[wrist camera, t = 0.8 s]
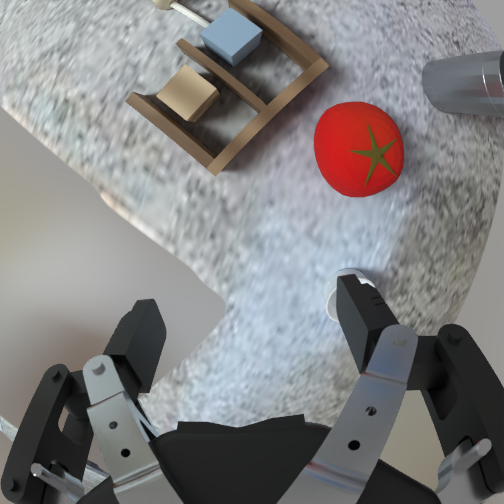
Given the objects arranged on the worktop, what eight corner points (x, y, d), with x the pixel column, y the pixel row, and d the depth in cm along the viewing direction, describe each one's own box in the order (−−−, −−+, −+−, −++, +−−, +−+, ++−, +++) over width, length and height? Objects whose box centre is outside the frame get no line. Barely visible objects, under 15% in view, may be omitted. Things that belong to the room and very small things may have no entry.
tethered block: (172, -12, 23) (163, -30, 18) (259, 44, 29) (262, 30, 23) (148, 9, 25) (134, -6, 19) (233, 67, 30) (231, 56, 25)
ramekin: (374, 290, 46) (384, 304, 42) (333, 316, 48) (340, 332, 44) (355, 255, 43) (365, 267, 39) (310, 284, 45) (316, 299, 41)
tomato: (319, 196, 38) (344, 219, 29) (294, 114, 33) (314, 109, 24) (386, 176, 37) (425, 193, 27) (367, 98, 32) (405, 92, 22)
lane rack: (237, 5, 26) (236, -8, 22) (319, 72, 30) (329, 66, 26) (137, 103, 31) (125, 101, 27) (218, 171, 36) (215, 176, 32)
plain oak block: (193, 73, 30) (185, 64, 25) (220, 95, 32) (216, 88, 26) (169, 100, 32) (155, 96, 26) (195, 122, 33) (186, 120, 28)
